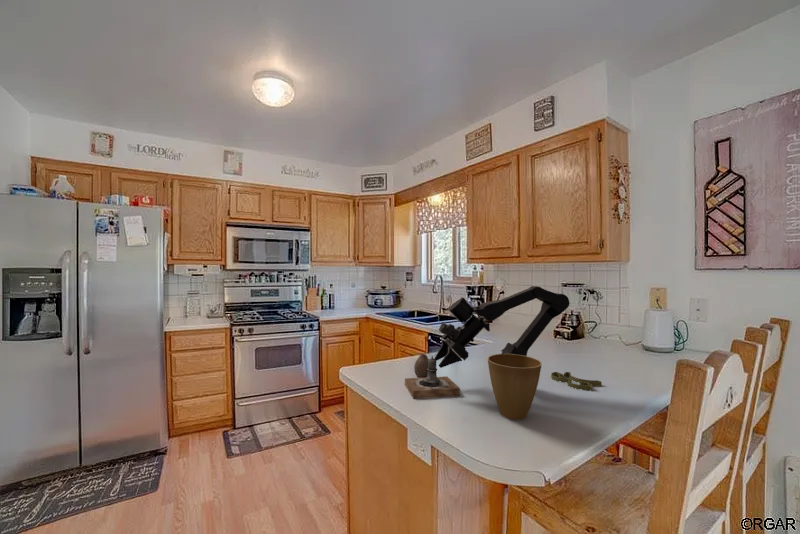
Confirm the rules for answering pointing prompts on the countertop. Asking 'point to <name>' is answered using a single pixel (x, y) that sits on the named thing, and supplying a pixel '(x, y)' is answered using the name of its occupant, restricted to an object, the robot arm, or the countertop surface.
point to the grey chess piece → (432, 374)
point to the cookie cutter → (583, 383)
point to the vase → (421, 366)
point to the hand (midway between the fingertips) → (437, 363)
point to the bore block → (431, 388)
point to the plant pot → (514, 383)
